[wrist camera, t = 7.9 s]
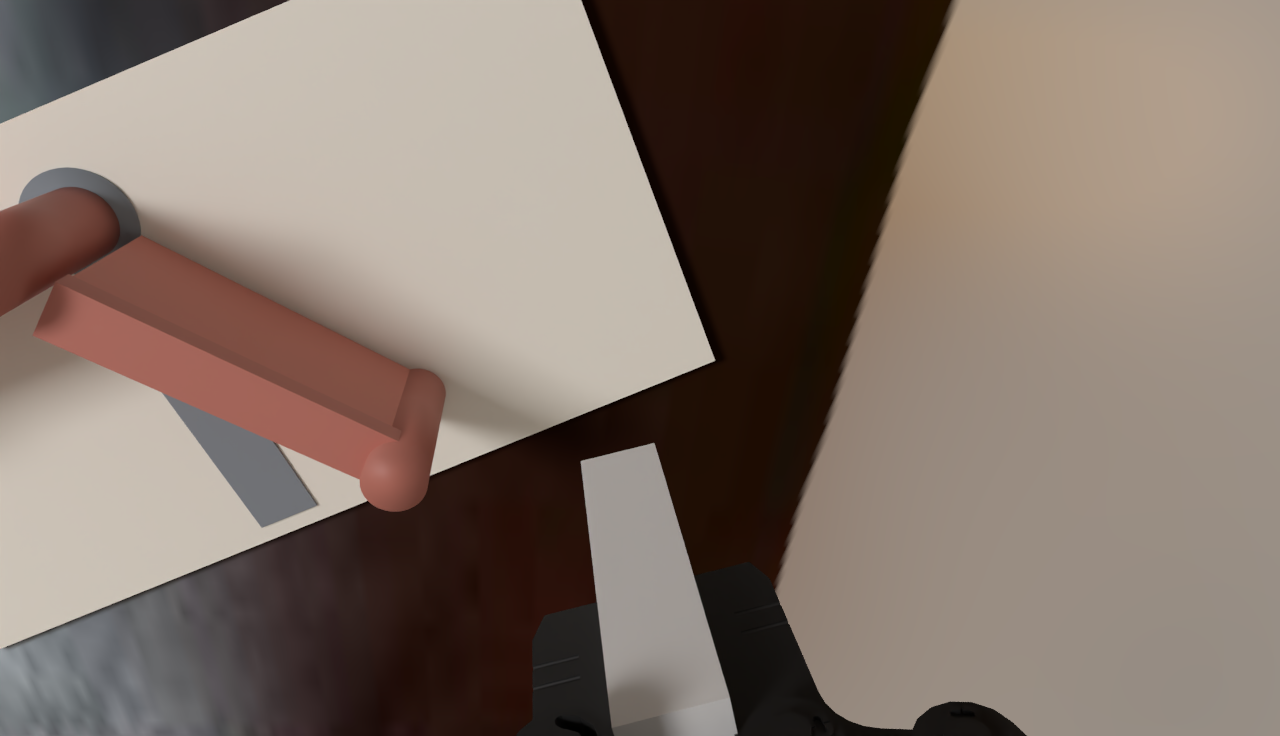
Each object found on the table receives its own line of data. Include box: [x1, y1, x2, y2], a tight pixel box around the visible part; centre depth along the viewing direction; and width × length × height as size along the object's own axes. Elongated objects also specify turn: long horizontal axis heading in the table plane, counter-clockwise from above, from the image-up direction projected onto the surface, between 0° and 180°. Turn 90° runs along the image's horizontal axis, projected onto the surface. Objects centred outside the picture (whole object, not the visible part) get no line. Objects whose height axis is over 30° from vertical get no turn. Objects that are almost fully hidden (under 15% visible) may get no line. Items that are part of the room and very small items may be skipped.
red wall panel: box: [32, 235, 446, 511], centre depth 26 cm, size 11×2×6 cm, turn 57°
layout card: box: [0, 0, 715, 649], centre depth 29 cm, size 17×32×1 cm, turn 111°
